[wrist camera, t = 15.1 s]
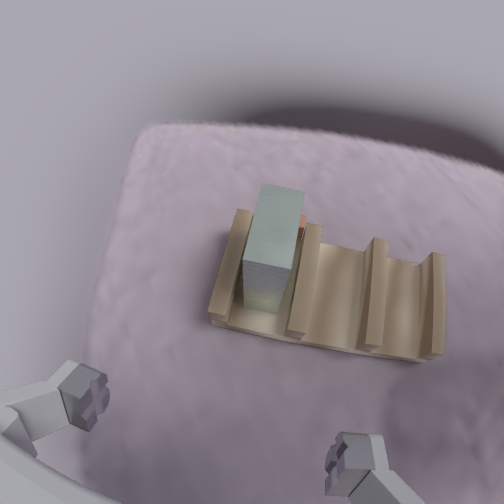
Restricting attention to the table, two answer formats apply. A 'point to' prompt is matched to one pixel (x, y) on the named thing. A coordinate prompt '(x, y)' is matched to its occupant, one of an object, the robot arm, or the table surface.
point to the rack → (340, 298)
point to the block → (271, 247)
